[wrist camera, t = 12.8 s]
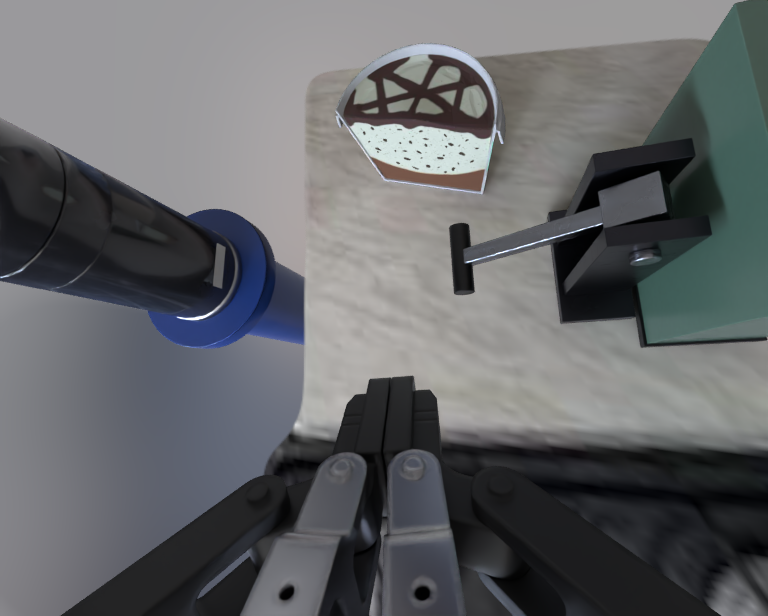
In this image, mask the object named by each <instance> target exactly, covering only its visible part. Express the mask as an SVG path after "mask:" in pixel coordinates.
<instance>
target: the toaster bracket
mask: <svg viewBox="0 0 768 616" xmlns="http://www.w3.org/2000/svg"><path fill="white" fill-rule="evenodd" d="M695 156H696V154H695V149H694V144H693V139H692V138H687V139H681V140H675V141H669V142H663V143H657V144H651V145H645V146H639V147H633V148H627V149H621V150H615V151H608V152H602V153H596V154H593V156H592V158H591V160H590V162H589V164H588V166H587V169H586V171H585V173H584V175H583V177H582V180H581V182H580V184H579V186H578V188H577V190H576V193H575V195H574V197H573V199H572V201H571V204H570V206H569V208H568V210H562V211H555V212H549V214H548V217H547V219H548V222H551V221H554V220H557V219H560V218H563V217H566V216H570V215H573V214H576V213H579V212H582V211H585V210H589V209H592V208H595V207H598V206H600V202H599V196H598V191H600V190H603V189H606V188H609V187H612V186H615V185H618V184H621V183H624V182H627V181H630V180H633V179H635V178H638V177H641V176H644V175H647V174H650V173H653V172H656V171H660V172H661V174H662V175H663V177H664V179H665V180H666V182H667V183H668V185H669V184H670V183H671V182H672V181H673V180H674V179H675V178H676V177H677V176H678V175H679V174H680V173H681V171H682V170H683V169H684V168H685V167H686V166H687V165H688V164H689V163H690V162H691V161H692V159H693V158H694V157H695ZM711 235H712V230H711V225H710V220H709V216H708V215H704V216H696V217H688V218H680V219H672V220H664V221H655V222H647V223H639V224H631V225H623V226H614V227H606V228H604V229H603V230H600V231H597V232H593V233H589V234H586V235H582V236H578V237H575V238H571V239H567V240H564V241H560V242H557V243H553V244H551V251H552V259H553V267H554V275H555V283H556V291H557V299H558V307H559V315H560V323H561V324H563V323H577V322H592V321H606V320H620V319H631V318H634V317H636V315H635V309H634V303H633V297H632V290H631V288H632V287H633V286H635V285H636V284H638V283H639V282H641V281H642V280H644V279H645V278H647V277H648V276H650V275H652V274H653V273H655V272H656V271H658V270H659V269H661V268H662V267H664V266H665V265H667V264H668V263H670V262H671V261H673V260H675V259H676V258H678V257H679V256H681V255H682V254H684V253H685V252H687V251H688V250H690V249H691V248H693V247H694V246H696V245H698V244H699V243H701V242H702V241H704V240H705V239H707V238H708V237H710V236H711Z"/></svg>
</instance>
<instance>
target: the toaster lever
mask: <svg viewBox="0 0 768 616" xmlns="http://www.w3.org/2000/svg"><path fill="white" fill-rule="evenodd" d="M598 196H599V202H600V206H598V207H595V208H592V209H589V210H585V211H582V212H579V213H576V214H573V215H570V216H566V217H563V218H560V219H557V220H554V221H551V222H547V223H544V224H541V225H538V226H535V227H532V228H528V229H525V230H522V231H519V232H516V233H513V234H509V235H506V236H503V237H500V238H497V239H494V240H490V241H487V242H484V243H481V244H478V245H475V246H471V242H470V230H469V225H468V224H466V223H457V224H453V225H451V226H450V228H449V231H450V245H451V258H452V272H453V286H454V294H456V295H468V294H472V293H474V292H475V290H474V278H473V265H477V264H480V263H484V262H488V261H491V260H495V259H499V258H502V257H506V256H509V255H513V254H517V253H520V252H524V251H528V250H531V249H535V248H538V247H542V246H546V245H549V244H553V243H557V242H560V241H564V240H567V239H571V238H575V237H578V236H582V235H586V234H589V233H593V232H597V231H600V230H603V229H604V228H606V227H614V226H623V225H631V224H639V223H647V222H655V221H664V220H672V219H676V218H675V213H674V207H673V202H672V197H671V192H670V186H669V185H668V183H667V182H666V180H665V179H664V177H663V175H662V174H661V172H660V171H656V172H653V173H650V174H647V175H644V176H641V177H638V178H635V179H633V180H630V181H627V182H624V183H621V184H618V185H615V186H612V187H609V188H606V189H603V190H600V191H598Z"/></svg>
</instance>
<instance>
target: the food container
mask: <svg viewBox="0 0 768 616" xmlns="http://www.w3.org/2000/svg"><path fill="white" fill-rule="evenodd" d="M336 112H337V114H336V119H337V122H338V125H339V127H340V128H341V127H342V124H343V123H344V125H345V126H346V127H347V129H348V130H349V132H350V133H351V134H352V136H353V137H354V139H355V140H356V142H357V143H358V144H359V146H360V147H361V149H362V150H363V151H364V153H365V154H366V156H367V157H368V158H369V160H370V161H371V163H372V164H373V166H374V167H375V168H376V170H377V171H378V173H379V174H380V175H381V177H382V178H383V180H385V181H392V182H399V183H406V184H413V185H421V186H428V187H435V188H442V189H449V190H456V191H464V192H471V193H478V194H483V192H484V187H485V182H486V177H487V172H488V167H489V162H490V157H491V152H492V147H493V142H494V137H495V132H497V133H498V136H499V139H500V142H501V144H503V143H504V137H505V115H504V110H503V105H502V102H501V98H500V95H499V92H498V89H497V87H496V85H495V82H494V81H493V79H492V78H491V76H490V75H489V73H488V72H487V71H486V69H485V68H484V67H483V66H482V65H481V64H480V63H479V62H478V61H477V60H476V59H475V58H474V57H472V56H471V55H469V54H468V53H466V52H464V51H462V50H460V49H458V48H455V47H451V46H448V45H444V44H433V43H427V44H426V43H425V44H415V45H409V46H405V47H402V48H399V49H396V50H393V51H391V52H389V53H387V54H385V55H382V56H381V57H379V58H378V59H376V60H375V61H373V62H372V63H370V64H369V65H368V66H366V67H365V68H364V69H363V70H362V71H361V72H360V73H359V74H358V75H357V76H356V77H355V78H354V79H353V80H352V81H351V83H350V84H349V85H348V87H347V88H346V89H345V91H344V93H343V95H342V97H341V98H340V100H339V103H338V105H337V108H336Z"/></svg>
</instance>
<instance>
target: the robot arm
mask: <svg viewBox="0 0 768 616" xmlns="http://www.w3.org/2000/svg"><path fill="white" fill-rule="evenodd" d="M241 276H242V263H241V258H240V255H239V252H238V250H237V248H236V247H235V245H234V244H233V243H232V242H231V241H230V240H229V239H228V238H226V237H225V236H223V235H221V234H219V233H217V232H215V231H212V230H210V229H208V228H206V227H204V226H202V225H201V224H199V223H197V222H195V221H193V220H192V219H190V218H188V217H186V216H184V215H182V214H180V213H179V212H177V211H175V210H173V209H171V208H169V207H167V206H165V205H163V204H162V203H160V202H158V201H156V200H154V199H152V198H150V197H149V196H147V195H145V194H143V193H141V192H139V191H138V190H136V189H134V188H132V187H130V186H128V185H126V184H124V183H123V182H121V181H119V180H117V179H115V178H113V177H111V176H110V175H108V174H106V173H104V172H102V171H100V170H98V169H96V168H94V167H92V166H91V165H89V164H86V163H85V162H83V161H81V160H79V159H77V158H75V157H74V156H72V155H70V154H68V153H66V152H64V151H63V150H61V149H59V148H57V147H55V146H53V145H51V144H49V143H47V142H46V141H44V140H42V139H40V138H38V137H36V136H34V135H33V134H31V133H29V132H27V131H25V130H23V129H21V128H19V127H17V126H15V125H13V124H12V123H9V122H7V121H5V120H4V119H1V118H0V281H3V282H8V283H13V284H17V285H23V286H28V287H32V288H37V289H43V290H48V291H54V292H58V293H63V294H68V295H73V296H78V297H83V298H88V299H93V300H98V301H103V302H108V303H112V304H117V305H122V306H127V307H132V308H137V309H142V310H147V311H152V312H157V313H161V314H166V315H171V316H176V317H178V318H181V319H186V320H191V321H203V320H207V319H210V318H212V317H214V316H216V315H218V314H219V313H220V312H222V311H223V310H224V309H225V308H226V307H227V306H228V305H229V304H230V302H231V301H232V300H233V298H234V296H235V295H236V293H237V290H238V288H239V285H240V281H241ZM382 516H387V534H386V535H384V541H383V602H382V616H467V615H466V609H465V603H464V597H463V591H462V585H461V579H460V573H459V567H458V565H460V566H463V567H466V568H469V569H472V570H475V571H477V572H478V575H479V577H480V579H481V581H482V582H483V583H484V584H485V586H486V587H487V588H488V589H489V590H490V591H491V592H492V593H493V594H494V595H495V596H496V597H497V599H498V600H499V601H500V602H501V603H502V604H503V605H504V606H505V607H506V608H507V609H508V610H509V611H510V613H511V614H512V615H513V616H721V615H720V614H718V613H717V612H715V611H714V610H712V609H711V608H710V607H708V606H707V605H705V604H704V603H703V602H701V601H700V600H698V599H697V598H695V597H694V596H693V595H691V594H690V593H688V592H687V591H686V590H684V589H683V588H681V587H680V586H678V585H677V584H676V583H674V582H673V581H671V580H670V579H669V578H667V577H666V576H664V575H663V574H661V573H660V572H659V571H657V570H656V569H654V568H653V567H652V566H650V565H649V564H647V563H646V562H645V561H643V560H642V559H640V558H639V557H637V556H636V555H635V554H633V553H632V552H630V551H629V550H628V549H626V548H625V547H623V546H622V545H620V544H619V543H618V542H616V541H615V540H613V539H612V538H611V537H609V536H608V535H606V534H605V533H603V532H602V531H601V530H599V529H598V528H596V527H595V526H594V525H592V524H591V523H589V522H588V521H586V520H585V519H584V518H582V517H581V516H579V515H578V514H577V513H575V512H574V511H572V510H571V509H569V508H568V507H567V506H565V505H564V504H562V503H561V502H560V501H558V500H557V499H555V498H554V497H552V496H551V495H550V494H548V493H547V492H545V491H544V490H543V489H541V488H540V487H538V486H537V485H536V484H534V483H533V482H531V481H530V480H528V479H527V478H526V477H524V476H523V475H521V474H520V473H518V472H517V471H515V470H513V469H510V468H507V467H501V466H494V467H488V468H485V469H482V470H480V471H479V472H478V473H476V474H475V476H474V477H471V476H466V475H462V474H459V473H457V472H455V471H453V470H451V469H450V468H449V467H447V466H446V464H445V463H444V462H443V460H442V449H441V435H440V426H439V416H438V407H437V398H436V397H435V396H434V394H433V393H432V392H431V391H430V390H416V389H415V382H414V376H404V377H392V379H391V378H377V379H370V380H369V384H368V388H367V393H366V394H358V395H355V396H354V397H353V398H352V399H351V400H350V401H349V402H348V404H347V405H346V409H345V412H344V417H343V419H342V423H341V427H340V430H339V434H338V437H337V441H336V444H335V448H334V451H333V455H332V456H331V457H329V458H327V459H326V460H325V461H324V462H323V463H322V464H321V465H320V466H319V468H318V469H317V472H316V474H315V476H314V478H312V479H310V480H307V481H304V482H301V483H298V484H295V485H291V486H288V487H286V484H285V482H284V480H283V479H282V478H280V477H278V476H275V475H263V476H260V477H257V478H254V479H252V480H250V481H249V482H247V483H245V484H244V485H243V486H241V487H240V488H238V489H237V490H236V491H234V492H233V493H232V494H230V495H229V496H227V497H226V498H224V499H223V500H222V501H221V502H219V503H218V504H216V505H215V506H213V507H212V508H210V509H209V510H208V511H207V512H205V513H203V514H202V515H201V516H199V517H198V518H197V519H195V520H194V521H192V522H191V523H190V524H188V525H187V526H185V527H184V528H183V529H181V530H180V531H178V532H177V533H176V534H174V535H173V536H171V537H170V538H169V539H167V540H166V541H164V542H163V543H162V544H160V545H159V546H157V547H156V548H155V549H153V550H152V551H151V552H149V553H148V554H146V555H145V556H143V557H142V558H141V559H139V560H138V561H136V562H135V563H134V564H132V565H131V566H129V567H128V568H127V569H125V570H124V571H122V572H121V573H120V574H118V575H117V576H116V577H114V578H113V579H111V580H110V581H108V582H107V583H106V584H104V585H103V586H101V587H100V588H99V589H97V590H96V591H95V592H93V593H92V594H90V595H89V596H87V597H86V598H85V599H83V600H82V601H80V602H79V603H78V604H76V605H75V606H74V607H72V608H71V609H69V610H68V611H66V612H65V613H64V614H62V615H61V616H369V610H370V605H371V599H372V593H373V588H374V582H375V576H376V571H377V565H378V559H379V554H380V548H381V535H380V531H381V523H382ZM247 550H248V553H249V555H250V556H249V557H248V558H247V559H246V560H245V561H244V562H242V563H241V564H240V565H239V566H238V567H237V568H235V569H234V570H233V571H232V572H231V573H230V574H228V575H227V576H226V577H225V578H224V579H223V580H221V581H220V582H219V583H218V584H217V585H216V586H214V587H213V588H212V589H211V590H210V591H208V592H207V593H206V594H205V595H204V596H202V597H201V598H199V599H197V597H198V595H199V593H200V592H201V590H202V589H203V588H204V587H205V586H206V585H207V584H208V583H209V582H210V581H211V580H213V579H214V578H215V577H216V576H217V575H218V574H220V573H221V572H222V571H223V570H225V569H226V568H227V567H228V566H229V565H230V564H232V563H233V562H234V561H235V560H236V559H238V558H239V557H240V556H241V555H242V554H243V553H245V552H246V551H247Z"/></svg>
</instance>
